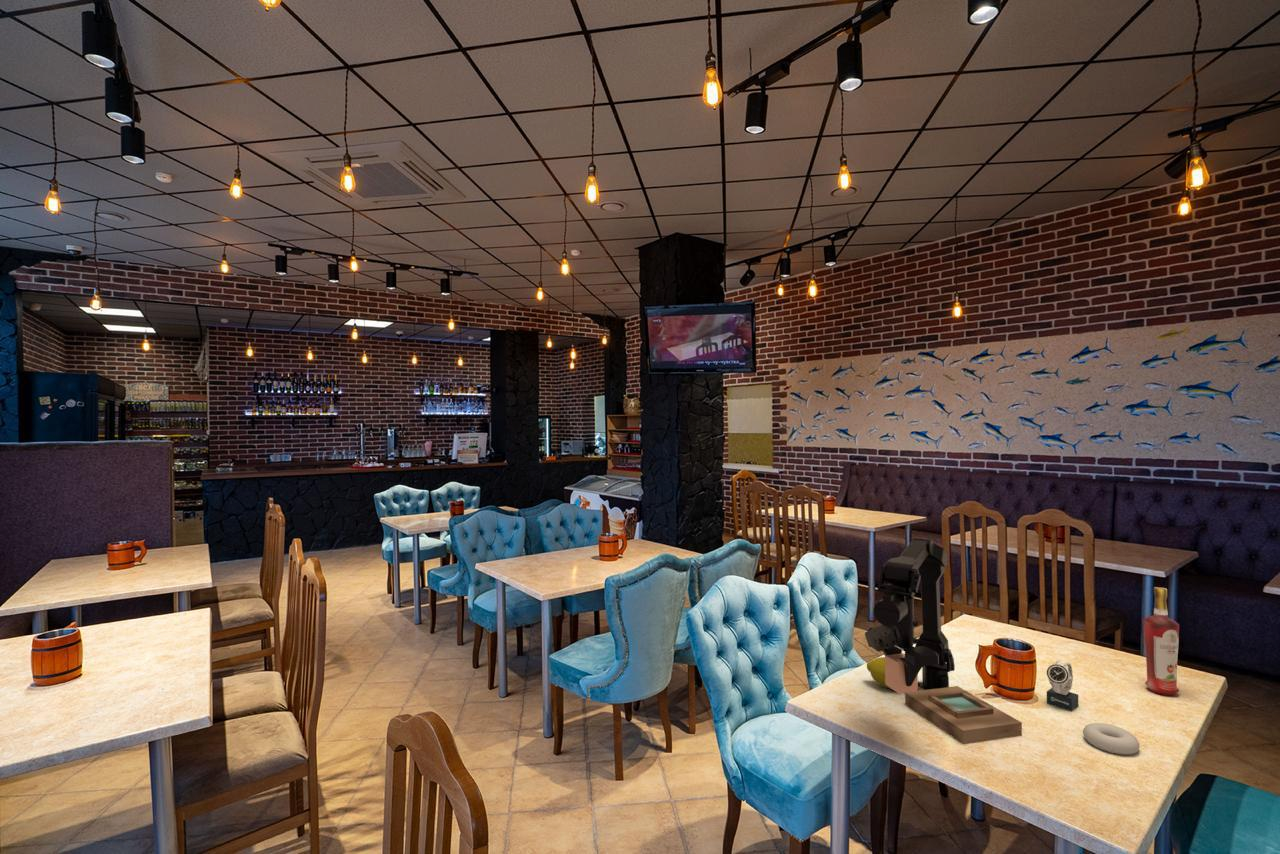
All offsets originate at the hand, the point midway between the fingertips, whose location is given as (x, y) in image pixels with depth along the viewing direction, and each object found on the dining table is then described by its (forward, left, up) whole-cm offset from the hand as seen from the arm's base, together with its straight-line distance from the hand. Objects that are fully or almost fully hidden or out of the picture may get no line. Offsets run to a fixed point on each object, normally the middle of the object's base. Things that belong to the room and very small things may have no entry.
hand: (901, 681), depth 138 cm
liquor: (-2, +82, -12) cm, 83 cm away
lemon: (-22, +12, -12) cm, 28 cm away
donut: (+16, +42, -12) cm, 47 cm away
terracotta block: (0, 0, -2) cm, 2 cm away
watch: (-2, +49, -12) cm, 51 cm away
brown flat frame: (-2, +18, -12) cm, 22 cm away
